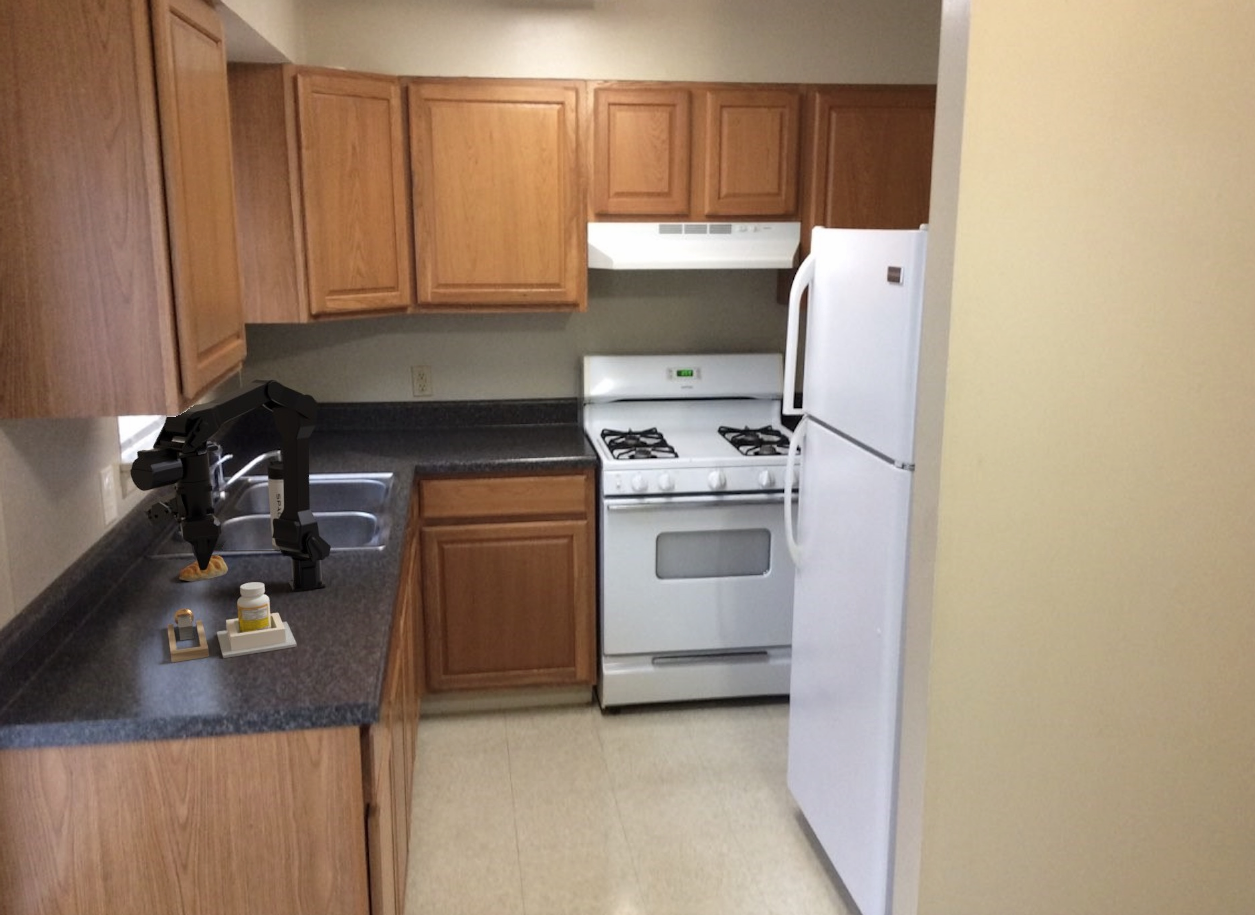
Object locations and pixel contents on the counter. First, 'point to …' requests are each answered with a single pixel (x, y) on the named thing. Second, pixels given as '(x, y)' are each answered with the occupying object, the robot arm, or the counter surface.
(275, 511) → the travel mug
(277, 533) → the robot arm
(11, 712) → the counter surface
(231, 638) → the socket
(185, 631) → the lock pin
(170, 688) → the counter surface
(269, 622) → the supplement bottle
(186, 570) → the pastry
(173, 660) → the mount
